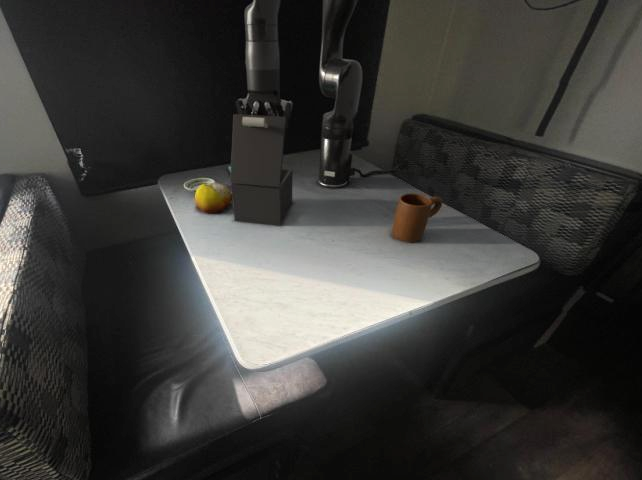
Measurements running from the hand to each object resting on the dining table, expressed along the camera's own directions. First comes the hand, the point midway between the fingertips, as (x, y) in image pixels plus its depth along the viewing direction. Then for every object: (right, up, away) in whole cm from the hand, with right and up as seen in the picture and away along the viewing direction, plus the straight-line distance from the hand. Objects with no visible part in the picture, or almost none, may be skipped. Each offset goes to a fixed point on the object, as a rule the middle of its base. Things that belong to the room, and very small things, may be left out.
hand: (265, 146), depth 86 cm
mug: (+38, -23, -1) cm, 44 cm away
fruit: (-15, -13, +11) cm, 23 cm away
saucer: (-22, -5, +19) cm, 30 cm away
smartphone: (-10, +3, +30) cm, 31 cm away
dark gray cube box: (-1, -15, +8) cm, 17 cm away
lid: (-2, -4, -6) cm, 7 cm away
